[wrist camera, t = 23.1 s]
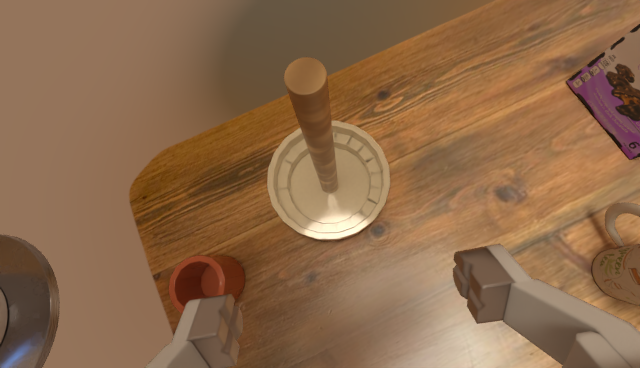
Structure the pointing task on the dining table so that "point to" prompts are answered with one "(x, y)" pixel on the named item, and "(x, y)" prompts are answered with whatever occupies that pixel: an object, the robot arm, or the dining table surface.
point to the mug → (619, 260)
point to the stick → (314, 116)
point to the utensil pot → (205, 279)
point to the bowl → (340, 206)
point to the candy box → (615, 91)
